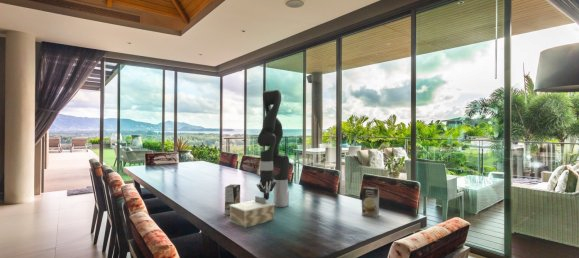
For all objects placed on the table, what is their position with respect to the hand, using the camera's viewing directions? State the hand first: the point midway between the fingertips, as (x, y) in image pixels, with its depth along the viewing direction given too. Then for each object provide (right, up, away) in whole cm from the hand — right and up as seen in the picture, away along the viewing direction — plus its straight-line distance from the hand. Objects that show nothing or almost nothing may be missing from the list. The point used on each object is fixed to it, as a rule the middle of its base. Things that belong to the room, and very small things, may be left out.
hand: (266, 199), depth 167 cm
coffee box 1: (-21, -10, +8) cm, 24 cm away
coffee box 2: (+61, -11, +6) cm, 62 cm away
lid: (-7, -2, -7) cm, 10 cm away
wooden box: (-7, -10, -7) cm, 14 cm away
